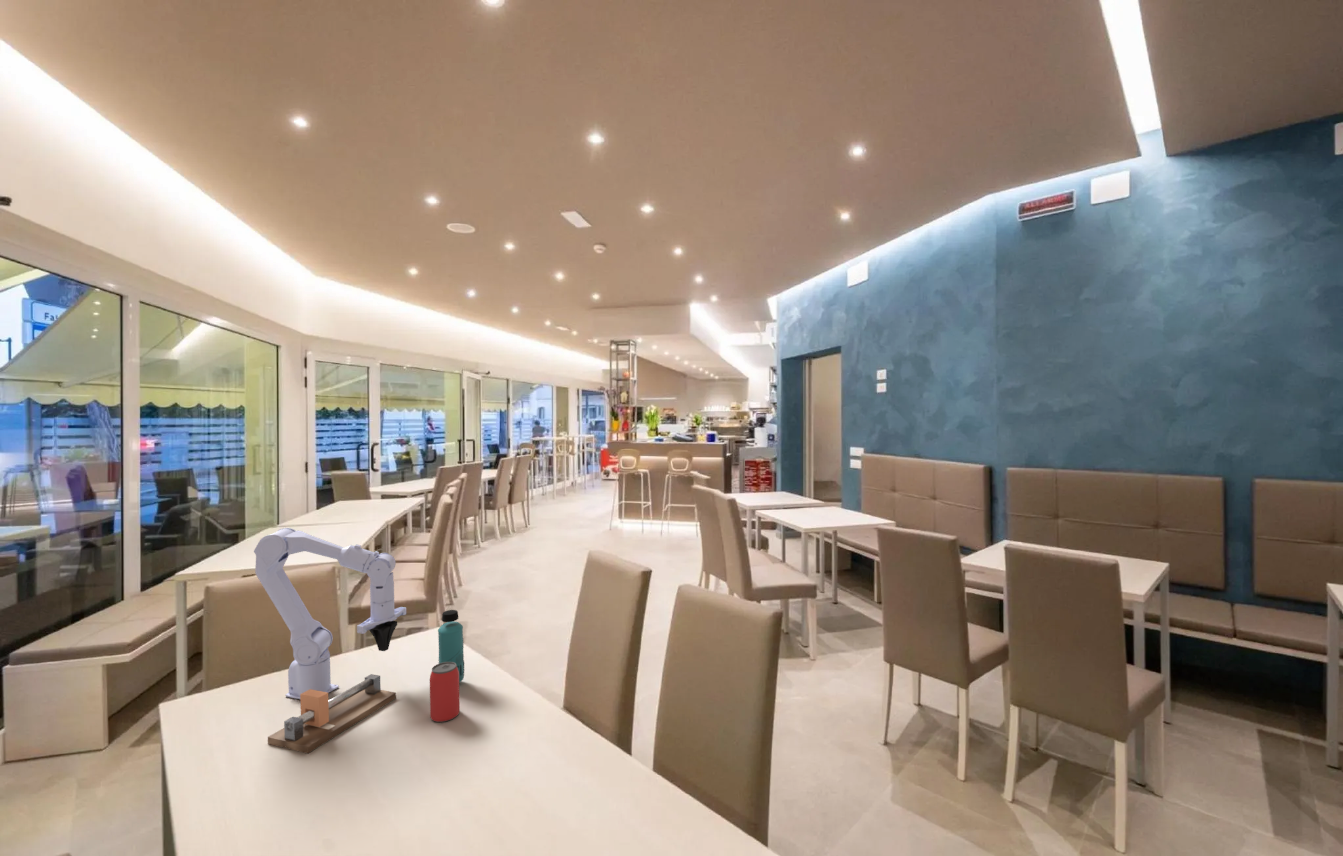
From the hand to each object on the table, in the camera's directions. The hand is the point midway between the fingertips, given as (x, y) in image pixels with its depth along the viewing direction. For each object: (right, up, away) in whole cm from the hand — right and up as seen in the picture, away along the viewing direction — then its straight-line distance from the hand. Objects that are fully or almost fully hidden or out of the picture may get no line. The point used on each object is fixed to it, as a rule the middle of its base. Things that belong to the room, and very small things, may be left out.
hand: (383, 649), depth 148 cm
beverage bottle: (+19, -10, -1) cm, 21 cm away
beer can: (+23, -10, -16) cm, 30 cm away
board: (-2, -10, -17) cm, 20 cm away
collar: (-4, -8, -22) cm, 24 cm away
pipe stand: (-2, -8, -17) cm, 19 cm away
